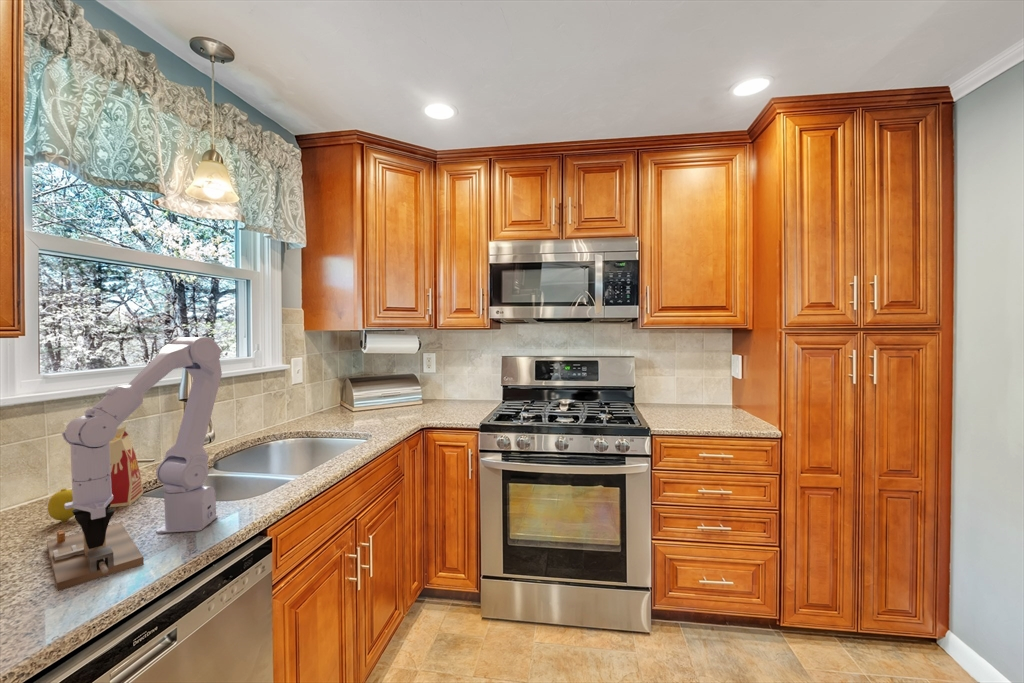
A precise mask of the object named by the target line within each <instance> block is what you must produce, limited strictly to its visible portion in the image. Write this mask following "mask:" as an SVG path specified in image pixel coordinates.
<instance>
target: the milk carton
mask: <svg viewBox="0 0 1024 683" xmlns="http://www.w3.org/2000/svg"><path fill="white" fill-rule="evenodd" d="M126 428H127V426H126V425H125V426H122V427H118V428H117V432H116V436H115V437H114V439H113V440H111V441H110V464H111V487H112V494H113V500H112V501H111V502H110V503H111V505H110V507H109V508H117V507H126V506H127V507H128V506H130V505H132V504H133V503H134V502H135V501H136V500H138V499H139V498H140V497H141V496H142V495H143V494H144V490H143V488H144V487H143V482H142V474H141V470H140V466H139V462H138V458H137V454H136V451H135V448H134V446H133V444H132V440H131V438H130V435H129V433H127V431H126Z"/></svg>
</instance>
